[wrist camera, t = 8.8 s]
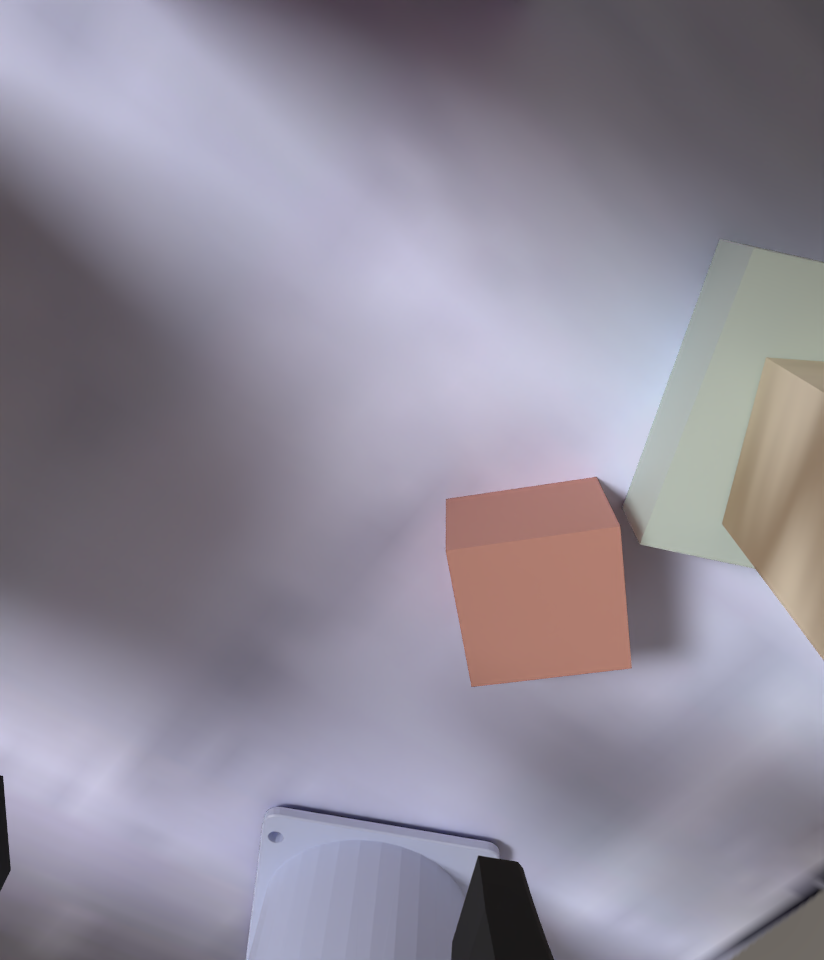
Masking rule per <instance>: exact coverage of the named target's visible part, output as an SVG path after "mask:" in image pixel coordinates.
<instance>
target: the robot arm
mask: <svg viewBox="0 0 824 960" xmlns="http://www.w3.org/2000/svg"><path fill="white" fill-rule="evenodd" d="M275 831H277V832H279V833H277V832H275ZM10 870H11V868H10V856H9V844H8V832H7V820H6V808H5V796H4V783H3V776H0V891H1V889H2V887H3V885H4V883H5V881H6V878H7V876H8V874H9V872H10ZM246 960H554V959H553V956H552V954H551V951H550V948H549V945H548V943H547V940H546V937H545V935H544V932H543V929H542V926H541V923H540V920H539V917H538V914H537V911H536V908H535V906H534V903H533V899H532V896H531V893H530V890H529V887H528V884H527V880H526V877H525V874H524V870H523V868H522V867H521V865H520V864H519V863H518V862H515V861H509V860H503V859H500V855H499V849H498V847H497V846H496V845H494V844H493V843H491V842H487V841H482V840H476V839H470V838H464V837H458V836H452V835H446V834H440V833H434V832H428V831H422V830H416V829H410V828H404V827H398V826H392V825H386V824H380V823H374V822H368V821H362V820H356V819H350V818H344V817H338V816H332V815H326V814H320V813H314V812H308V811H302V810H296V809H291V808H285V807H273V808H270V809H269V810H267V811H266V813H265V816H264V819H263V823H262V831H261V840H260V848H259V856H258V864H257V873H256V881H255V889H254V897H253V906H252V914H251V922H250V930H249V938H248V947H247V955H246Z"/></svg>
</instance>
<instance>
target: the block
mask: <svg viewBox="0 0 824 960" xmlns="http://www.w3.org/2000/svg"><path fill="white" fill-rule="evenodd" d="M446 555H447V560H448V565H449V570H450V576H451V581H452V586H453V591H454V597H455V602H456V607H457V612H458V618H459V623H460V628H461V634H462V639H463V644H464V649H465V655H466V660H467V665H468V670H469V676H470V681H471V686H472V687H475V686H484V685H493V684H501V683H510V682H518V681H527V680H536V679H544V678H553V677H561V676H570V675H578V674H587V673H596V672H604V671H613V670H621V669H630V668H632V667H631V654H630V642H629V629H628V617H627V604H626V592H625V579H624V567H623V554H622V542H621V529H620V525H619V523H618V521H617V518H616V516H615V514H614V512H613V510H612V508H611V506H610V504H609V502H608V500H607V498H606V496H605V494H604V492H603V490H602V487H601V485H600V483H599V481H598V479H597V477H593V478H586V479H579V480H572V481H565V482H558V483H552V484H545V485H538V486H531V487H524V488H518V489H511V490H504V491H497V492H490V493H484V494H477V495H470V496H463V497H456V498H450V499H446Z"/></svg>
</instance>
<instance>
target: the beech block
mask: <svg viewBox="0 0 824 960" xmlns="http://www.w3.org/2000/svg"><path fill="white" fill-rule="evenodd" d="M722 525H723V526H724V527H725V529H726V530H727V531H728V533H729V534H730V535H731V537H732V538H733V539H734V541H735V542H736V543H737V545H738V546H739V547H740V549H741V550H742V551H743V553H744V554H745V555H746V557H747V558H748V560H749V561H750V562H751V564H752V565H753V566H754V568H755V569H756V570H757V572H758V573H759V574H760V576H761V577H762V578H763V580H764V581H765V582H766V584H767V585H768V586H769V588H770V589H771V590H772V592H773V593H774V594H775V596H776V597H777V598H778V600H779V601H780V602H781V604H782V605H783V606H784V608H785V609H786V610H787V612H788V613H789V614H790V616H791V617H792V618H793V620H794V621H795V622H796V624H797V625H798V626H799V628H800V629H801V630H802V632H803V633H804V635H805V636H806V637H807V639H808V640H809V641H810V643H811V644H812V645H813V647H814V648H815V649H816V651H817V652H818V653H819V655H820V656H821V657H822V659H823V660H824V362H823V361H809V360H795V359H782V358H768V357H766V359H765V363H764V366H763V370H762V374H761V378H760V381H759V385H758V389H757V393H756V397H755V400H754V404H753V408H752V412H751V415H750V419H749V423H748V427H747V431H746V434H745V438H744V442H743V446H742V449H741V453H740V457H739V461H738V465H737V468H736V472H735V476H734V480H733V483H732V487H731V491H730V495H729V499H728V502H727V506H726V510H725V514H724V517H723V521H722Z"/></svg>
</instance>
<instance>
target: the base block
mask: <svg viewBox="0 0 824 960" xmlns="http://www.w3.org/2000/svg"><path fill="white" fill-rule="evenodd" d="M766 357H768V358H782V359H795V360H809V361H823V362H824V262H822V261H817V260H813V259H808V258H804V257H799V256H795V255H790V254H786V253H781V252H777V251H772V250H768V249H764V248H759V247H755V246H750V245H746V244H741V243H737V242H732V241H728V240H723V239H719V242H718V245H717V247H716V250H715V253H714V256H713V259H712V261H711V264H710V267H709V270H708V272H707V275H706V278H705V281H704V283H703V286H702V289H701V292H700V294H699V297H698V300H697V303H696V305H695V308H694V311H693V314H692V316H691V319H690V322H689V325H688V327H687V330H686V333H685V336H684V339H683V341H682V344H681V347H680V350H679V352H678V355H677V358H676V361H675V363H674V366H673V369H672V372H671V374H670V377H669V380H668V383H667V385H666V388H665V391H664V394H663V396H662V399H661V402H660V405H659V407H658V410H657V413H656V416H655V419H654V421H653V424H652V427H651V430H650V432H649V435H648V438H647V441H646V443H645V446H644V449H643V452H642V454H641V457H640V460H639V463H638V465H637V468H636V471H635V474H634V476H633V479H632V482H631V485H630V487H629V490H628V493H627V496H626V498H625V501H624V504H623V507H622V509H623V512H624V514H625V516H626V518H627V520H628V522H629V524H630V526H631V528H632V530H633V532H634V534H635V536H636V538H637V540H638V542H639V544H640V545H644V546H649V547H654V548H659V549H663V550H668V551H673V552H678V553H683V554H687V555H692V556H697V557H702V558H706V559H711V560H716V561H721V562H726V563H730V564H735V565H740V566H745V567H749V568H754V566H753V565H752V564H751V562H750V561H749V560H748V558H747V557H746V555H745V554H744V553H743V551H742V550H741V549H740V547H739V546H738V545H737V543H736V542H735V541H734V539H733V538H732V537H731V535H730V534H729V533H728V531H727V530H726V529H725V527H724V526H723V525H722V521H723V517H724V514H725V510H726V506H727V502H728V499H729V495H730V491H731V487H732V483H733V480H734V476H735V472H736V468H737V465H738V461H739V457H740V453H741V449H742V446H743V442H744V438H745V434H746V431H747V427H748V423H749V419H750V415H751V412H752V408H753V404H754V400H755V397H756V393H757V389H758V385H759V381H760V378H761V374H762V370H763V366H764V363H765V359H766ZM754 569H755V568H754Z"/></svg>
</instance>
